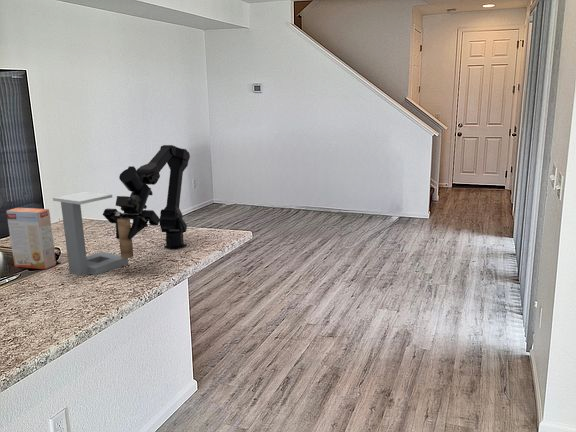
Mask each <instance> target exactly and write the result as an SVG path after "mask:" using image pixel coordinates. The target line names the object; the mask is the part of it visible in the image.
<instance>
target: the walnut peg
mask: <svg viewBox="0 0 576 432" xmlns="http://www.w3.org/2000/svg"><path fill="white" fill-rule="evenodd" d="M117 223H118V232H119V239H118V240H119V241H118V242H119V249H120V255H121V258H128V259H130V258H133V257H134V246H133V238H131V239H130V240H129V239H128V235H129V232H130V229H131V227H132V224H131V219H130V218H119V219H117Z"/></svg>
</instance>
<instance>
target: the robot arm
mask: <svg viewBox="0 0 576 432" xmlns="http://www.w3.org/2000/svg"><path fill="white" fill-rule="evenodd" d="M190 158H191V155H190V152H189V151H188V150H187V149H186V148H181V147H177V146H175V145H174V144H173V145H172V144H163V145H161V146H160V148H159V150H158V151H157V153H156V154H155V155H154V156H153V157H152V159H150V161H149V162H147V163H146V164H143V165H141V166H140V167H138V168H137V169H136V167H135V166H134V165H133V166H128V167H127V169H124V170H123V171H122V172H121V173H120V174H119V176H118V177H119V180H120V182H121V183H122V184H123V185H124V186H125V188H126V189H127V190H128V191H129V192H131V193H130V195H129V196H127V195H126V196H125V195H124V196H123V195H117V196H116V200H115V201H116V202H115V206H116V207H120V211H119V210H118V209H117V208H110V207H109V208H108V207H107V208H105V209H104V210H103V213H102V216H103V217H104V218H105V219H106V220H107V222H109V223H111V224H115V238H116V239H117V240H119V232H118V223H117V219H119V218H130V220H132V224H131V229H130V232H129V235H128V239H129V240H130V239H131V238H132V239H133V238H134V237H135V236H136V235H137V234H138V233H140V232H141V231H142V230H143V229H146V228H148V224H149V225H150V226H159V227H160V230H161V233H165V245H164V246H163V248H167V249H172V250H177V249H181V248H184V247H187V243H185V242H184V233H187V231H188V230H187V228H188V225H187V223H186V222H185V220H184V219H183V213H182V211H181V209H180V204H181V192H182V184H183V174H184V171H185V170H186V169H187V167H188V165H189V161H190ZM166 165H168V169H169V180H168V181H169V182H168V188H167V189H168V190H167V197H166V198H167V199H166V206H165V207H164V209H163V208H162V209H161V210H160V216H158V214H157V213H156V212H155V211H154V210H153V209H151V210H150V209H147V208H148V206H147V205H146V204H147V201H148V198H149V196H153V195H154V194H153V191H152V188H151V187H149V185H152V186H153V185H154V186H155V185H156V184H157V183H158V181H159V179H160V177H161V175H160V172H161V170H163V169H164V167H165V166H166ZM121 211H123V212H121Z"/></svg>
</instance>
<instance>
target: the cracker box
mask: <svg viewBox="0 0 576 432" xmlns="http://www.w3.org/2000/svg"><path fill="white" fill-rule="evenodd" d="M50 214H51V213H50V209H49V208H34V207H14V208H11V209H7V210H6V219H7V225H8V232H9V238H10V239H9V240H10V245H11V251H12V258H13V264H14V265H13V266H14V267H16V268H26V269H34V270H35V269H37V270H47V269H50V268H51V267H54V266H56V265H57V262H56V261H57V260H56V254H55V253H56V252H55V243H54V237H53V230H52V229H53V228H52V222H51V221H52V220H51V215H50Z"/></svg>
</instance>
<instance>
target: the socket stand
mask: <svg viewBox="0 0 576 432" xmlns="http://www.w3.org/2000/svg"><path fill="white" fill-rule="evenodd" d="M111 198H113V194H110V193H102V192H95V191H82V192H75V193H71V194H70V193H69V194H66V195H61V196H55V197H52V201H53V202H59V203H60V205H61V207H60V208H61V215H62V222H63V230H64V237H65V238H64V239H65V246H66V247H65V248H66V254H67V261H68V262H67V263H68V271H69V274H70V275H71V274H72V275H75V276H79V277H82V276H85V275H87V274H89V275H93V276H98V275H101V274H103V273H106V272H109V271H111V270H115V269H117V268H120V267H123V266H125V265H129V258H121V254H115V253H111V252H106V251H99V252H97V253H93V254H90V255H87V252H86V251H87V249H86V243H85V235H84V234H85V232H84V226H83V225H84V224H83V217H82V207H81V205H84V204H88V203H94V202H98V201H103V200H107V199H111Z"/></svg>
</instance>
